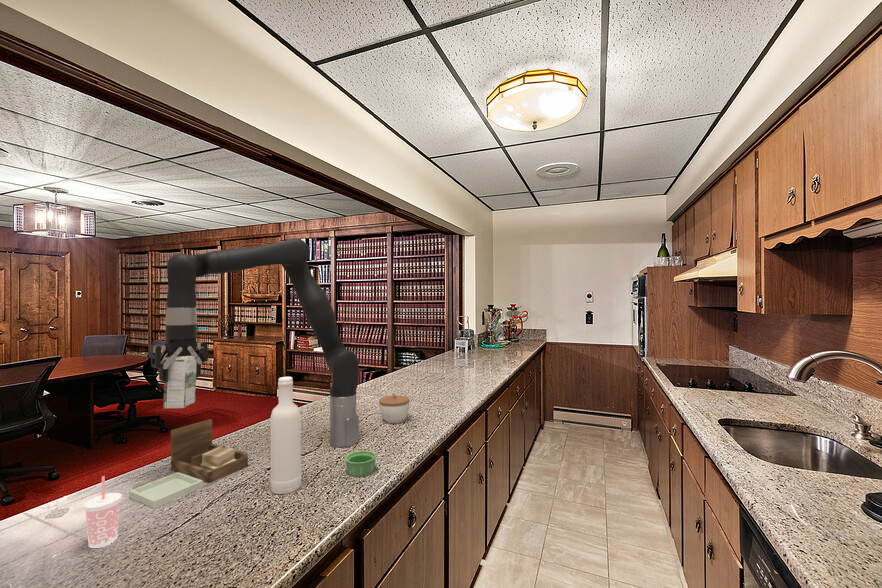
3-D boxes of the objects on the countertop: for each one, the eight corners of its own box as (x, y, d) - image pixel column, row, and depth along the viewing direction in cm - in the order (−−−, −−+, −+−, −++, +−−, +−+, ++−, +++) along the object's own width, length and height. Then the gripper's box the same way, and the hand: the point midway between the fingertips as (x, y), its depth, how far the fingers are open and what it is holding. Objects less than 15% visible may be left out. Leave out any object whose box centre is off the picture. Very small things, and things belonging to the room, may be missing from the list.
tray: (203, 486, 105) (203, 480, 105) (153, 508, 94) (153, 501, 94) (178, 477, 110) (178, 472, 110) (129, 497, 100) (129, 490, 100)
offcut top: (234, 458, 117) (234, 448, 117) (218, 467, 111) (218, 456, 111) (219, 456, 119) (219, 446, 119) (202, 464, 113) (202, 454, 113)
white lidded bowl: (375, 418, 163) (375, 393, 163) (403, 414, 168) (403, 389, 168) (384, 427, 151) (384, 399, 152) (414, 423, 157) (413, 396, 157)
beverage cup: (77, 555, 77) (77, 485, 77) (91, 537, 83) (91, 473, 83) (115, 546, 80) (115, 479, 80) (126, 530, 85) (126, 467, 85)
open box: (247, 466, 118) (247, 427, 118) (209, 483, 107) (208, 440, 107) (210, 455, 126) (210, 419, 126) (171, 470, 116) (170, 430, 116)
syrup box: (175, 403, 113) (176, 354, 113) (196, 403, 113) (197, 354, 113) (162, 408, 107) (163, 357, 107) (184, 408, 107) (185, 357, 107)
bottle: (270, 483, 106) (270, 376, 107) (300, 478, 109) (299, 373, 110) (270, 497, 99) (269, 382, 99) (302, 491, 102) (301, 379, 102)
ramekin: (339, 475, 111) (339, 460, 111) (356, 462, 120) (356, 448, 120) (365, 480, 108) (365, 464, 108) (381, 466, 116) (381, 452, 117)
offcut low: (237, 469, 116) (237, 459, 116) (214, 479, 110) (214, 468, 110) (223, 465, 120) (223, 455, 120) (200, 474, 113) (200, 464, 113)
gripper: (160, 325, 102) (159, 385, 102) (213, 322, 115) (213, 376, 114) (146, 324, 106) (145, 383, 105) (199, 321, 118) (199, 374, 118)
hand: (180, 379), depth 110 cm, fingers closed on syrup box, 8 cm apart
